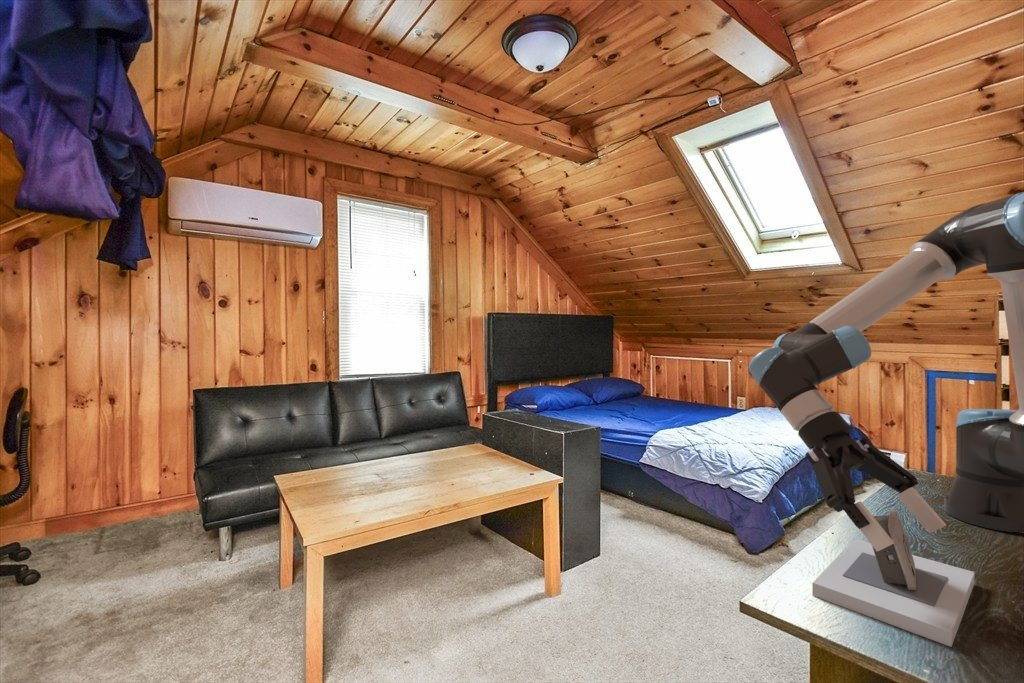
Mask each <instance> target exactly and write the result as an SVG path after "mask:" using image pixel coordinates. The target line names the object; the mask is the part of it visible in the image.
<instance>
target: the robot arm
mask: <svg viewBox="0 0 1024 683" xmlns="http://www.w3.org/2000/svg"><path fill="white" fill-rule="evenodd" d="M982 265H985V267H986V274H987V276H988V277H991V278H993V279H994V280H996V281H998V282H999V283H1000V289H1001V297H1002V302H1003V309H1004V310H1003V311H1004V317H1005V322H1006V329H1007V336H1008V342H1009V348H1010V354H1011V362H1012V363H1011V364H1012V369H1013V375H1014V383H1015V389H1016V395H1017V402H1018V409H1001V408H1000V409H999V408H996V409H995V408H966V409H963V410H960V411H959V412H958V414H957V419H956V425H955V430H956V431H955V432H956V433H955V434H956V435H955V436H956V438H955V439H956V440H955V443H956V444H955V445H956V446H955V448H956V449H955V475H954V476H955V477H954V478H953V481H952V483H951V486H950V488H949V491H948V495H946V496H945V497H944V500H943V504H944V505H943V510H944V512H945V513H946V514H948V515H949V516H951V517H952V518H954V519H956V520H960V521H962V522H963V523H966V524H967V523H968V524H970V525H975V526H977V527H981V528H986V529H990V530H995V531H1000V532H1005V531H1006V532H1007V533H1013V532H1024V191H1022V192H1018V193H1016V194H1013V195H1009V196H1006V197H1002V198H999V199H996V200H992V201H988V202H985V203H981V204H978V205H974V206H971V207H968V208H967V209H964V210H963V211H961V212H959V213H957V214H955V215H953V217H951V218H950V219H948V220H946V221H945V222H943V223H941V225H939V226H937V227H936V228H935V229H933V230H932V231H930V232H929V233H928V234H926V235H925V236H923V237H922V238H920V239H918V241H916V242H914V243H913V244H912V245H911V246H910V247H909V253H908V254H906V255H905V256H903V257H902V258H900V259H899V260H898V261H896V262H894V263H893V264H892V265H889V267H887V268H886V269H884V270H883V271H882V272H880V273H879V274H877V275H876V276H874V277H873V278H871V279H870V280H869V281H867V282H866V283H864V284H863V285H860V287H858V288H857V289H856V290H854V291H853V292H851V293H850V294H848V295H847V296H845V297H844V298H842V299H841V300H839V301H838V302H836V303H835V304H834V305H832V306H830V307H829V308H828V309H826V310H824V311H823V312H822V313H820V314H819V315H817V316H816V317H815V318H814V319H812V320H810V321H809V322H808V323H806V324H804V325H802V326H801V327H800V328H798V329H797V330H794V331H789V332H786V333H783V334H781V335H779V336H778V337H777V338H776V339H775V341H774V342H773V346H772V347H767V348H765V349H763V350H761V351H759V353H756V355H755V356H753V358H751V360H750V362H749V363H748V364H749V365H748V371H749V373H750V374H751V376H752V377H753V379H754V380H755V382H756V383H757V385H758V387H759V388H760V389H761V390H762V391H763V392H764V393H765V395H766V396H767V397H768V398H769V400H770V401H771V402H772V403H773V405H774V406H775V407H776V408H777V410H778V411H779V413H780V414H781V415H782V416H783V417H784V418H785V420H786V421H787V422H788V423H789V425H790V426H791V427H792V428H793V430H794V431H797V432H798V437H799V438H800V439H801V441H802V442H803V443H804V444H805V446H806V447H807V448H808V449H809V451H808V452H806V453H805V457H806V458H807V459H808V461H809V462H810V465H811V466H812V468H813V471H814V473H815V477H816V479H817V482H818V485H819V487H820V490H821V493H822V495H823V498H824V501H825V503H826V505H827V507H829V508H830V509H834V511H835V512H837V513H840V512H842V511H844V512H845V514H846V515H847V516H848V518H849V519H850V520H851V521H852V523H853V524H854V526H855V527H857V529H859V531H860V532H861V533H862V534H863V536H864V537H865V538H866V540H867V542H868V543H871V545H872V546H873V547H874V549H875V550H876V551H880V550H882V549H884V548H886V547H888V546H890V545H892V544H894V542H893V541H892V539H891V538H890V537H889V536H888V534H887V533H886V532H885V531H884V529H883V528H882V527H881V526H880V524H879V523H878V522H877V521H876V519H875V518H874V517H873V516H874V515H873V514H872V513H871V512H870V511H869V509H868V508H867V507H866V506H865V505H864V503H863V501H861V500H860V501H857V502H856V496H855V494H854V493H855V492H854V488H853V481H852V477H851V476H852V475H851V472H850V471H858V472H864V473H866V474H868V475H869V476H871V477H872V478H874V479H876V480H878V481H879V482H881V483H883V485H885V486H887V487H889V488H891V489H892V490H894V491H896V492H898V493H899V494H897V495H896V496H897V498H898V499H899V500H900V501H901V502H902V503H903V505H904V506H905V507H906V508H907V509H908V511H910V513H911V514H912V515H913V516H914V517H915V519H916V520H917V521H918V522H919V523H920V524H921V526H922V527H923V529H925V530H926V531H927V532H928V533H929V534H931V533H934V532H936V531H937V530H940V529H941V528H944V527H946V526H947V523H945V521H944V520H943V519H942V518H941V516H940V515H938V513H936V510H934V509H933V507H932V506H930V505H929V503H928V502H927V500H925V499H924V497H923V496H922V495H921V494H920V493H919V492H918V491H917V489H915V488H914V487H915V486H917V485H918V484H919V482H918V478H917V477H916V476H915V475H914V474H912V473H911V472H910V471H908V470H907V469H905V468H904V467H903V466H902V465H900V464H899V463H897V462H896V461H895V460H893V459H892V458H891V457H889V456H888V455H887V454H885V453H884V452H883V451H881V450H880V449H878V448H877V447H876V446H875V445H874V444H873V443H872V442H871V441H870V440H869V439H868V438H867V437H865V436H862V437H860V438H859V439H857V440H854V439H853V438H852V437H851V436H850V432H851V431H852V426H851V425H850V424H849V423H848V422H847V421H846V420H845V419H844V417H843V416H842V415H841V414H840V413H839V412H837V411H835V407H834V406H833V404H832V403H831V402H830V401H829V400H828V399H827V397H825V395H823V394H822V393H821V391H820V390H819V389H818V387H817V386H818V385H821V384H822V383H824V382H826V381H829V380H831V379H834V378H836V377H838V376H839V375H842V374H844V373H846V372H848V371H850V370H852V369H853V370H854V369H856V368H857V367H858V366H860V365H863V363H866V362H867V361H868V360H870V358H871V356H872V349H871V345H870V343H869V342H868V339H867V338H866V337H865V335H864V334H863V333H862V332H863V331H864V330H866V329H867V328H869V327H871V326H872V325H874V324H875V323H877V322H878V321H879V320H881V319H883V318H884V317H885V316H887V315H889V314H890V313H892V312H893V311H895V310H896V309H898V308H899V307H901V306H902V305H904V304H905V303H907V302H908V301H909V300H911V299H913V298H914V297H915V296H917V295H919V294H920V293H922V292H923V291H924V290H926V289H927V288H929V287H930V286H932V285H933V284H935V283H936V282H939V281H948V280H950V279H952V278H954V277H955V276H957V275H959V274H960V273H962V272H964V271H966V270H969V269H972V268H975V267H979V266H982Z"/></svg>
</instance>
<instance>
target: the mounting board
mask: <svg viewBox="0 0 1024 683" xmlns="http://www.w3.org/2000/svg"><path fill="white" fill-rule="evenodd" d="M912 557H913V560H914V563H915V573H916V590H909V589H908V586H907V585H905V584H895V583H884V580H883V577H882V574H881V571H880V568H879V565H878V562H877V559H876V556H875V553H874V550H873V547H872V545H871V543H870V542H869V541H864V540H860V539H857V538H854V539H853V540H852V541H851V542H850V543H849V544H848V545H847V547H845V548H844V549H843V550H842V551H841V552H840V553H839V555H837V557H836V558H834V559H833V561H832V562H831V563H830V564H829V565H828V566H827V567H826V568H825V569H824V570H823V571H822V572H821V573H820V574H819V575H818V577H816V579H815V580H814V581H812V588H811V590H812V593H811V594H812V596H813V595H814V596H813V597H815V596H816V598H818V597H819V598H818V599H820V600H823V601H826V602H829V603H832V604H835V605H837V606H840V607H843V608H845V609H848V610H850V611H854V612H856V613H859V614H861V615H864V616H867V617H870V618H872V617H873V618H872V619H875V620H877V621H881V622H883V623H884V624H885V623H886V624H889V625H891V626H894V627H896V628H899V629H902V630H904V631H907V632H910V633H913V634H915V635H917V636H921V637H924V638H925V639H929V640H930V641H933V642H937V643H939V644H942V645H944V646H947V647H949V648H952V646H953V645H954V644H953V643H954V641H955V638H956V636H957V633H958V630H959V627H960V624H961V622H962V619H963V617H964V613H965V611H966V608H967V605H968V603H969V600H970V597H971V594H972V592H973V589H974V586H975V571H972V570H969V569H965V568H961V567H957V566H953V565H951V564H946V563H942V562H939V561H937V560H933V559H928V558H924V557H921V556H918V555H914V554H912Z"/></svg>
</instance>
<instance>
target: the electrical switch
mask: <svg viewBox="0 0 1024 683" xmlns="http://www.w3.org/2000/svg"><path fill="white" fill-rule="evenodd" d="M872 516H873V517H874V518H875V519H876V521H877V522H878V523H879V524H880V526H881V527H882V528H883V529H884V531H885V532H886V533H887V534H888V536H889V537H890V538H891V539H892V541H893V542H894V544H892V545H890V546H888V547H886V548H884V549H882V550H880V551H876V550H875V549H874V547H873V546H872V547H873V550H874V553H875V556H876V559H877V562H878V565H879V568H880V571H881V574H882V577H883V580H884V583H895V584H905V585H907V586H908V589H909V590H916V573H915V563H914V560H913V557H912V555H913V553H912V550H911V548H910V542H909V541H910V540H909V536H907V535H906V533H905V530H904V528H903V525H902V521H901V519H900V517H899V515H898V512H897V511H896V509H889V511H888V514H887V515H886V514H884V515H883V514H882V515H872Z"/></svg>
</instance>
